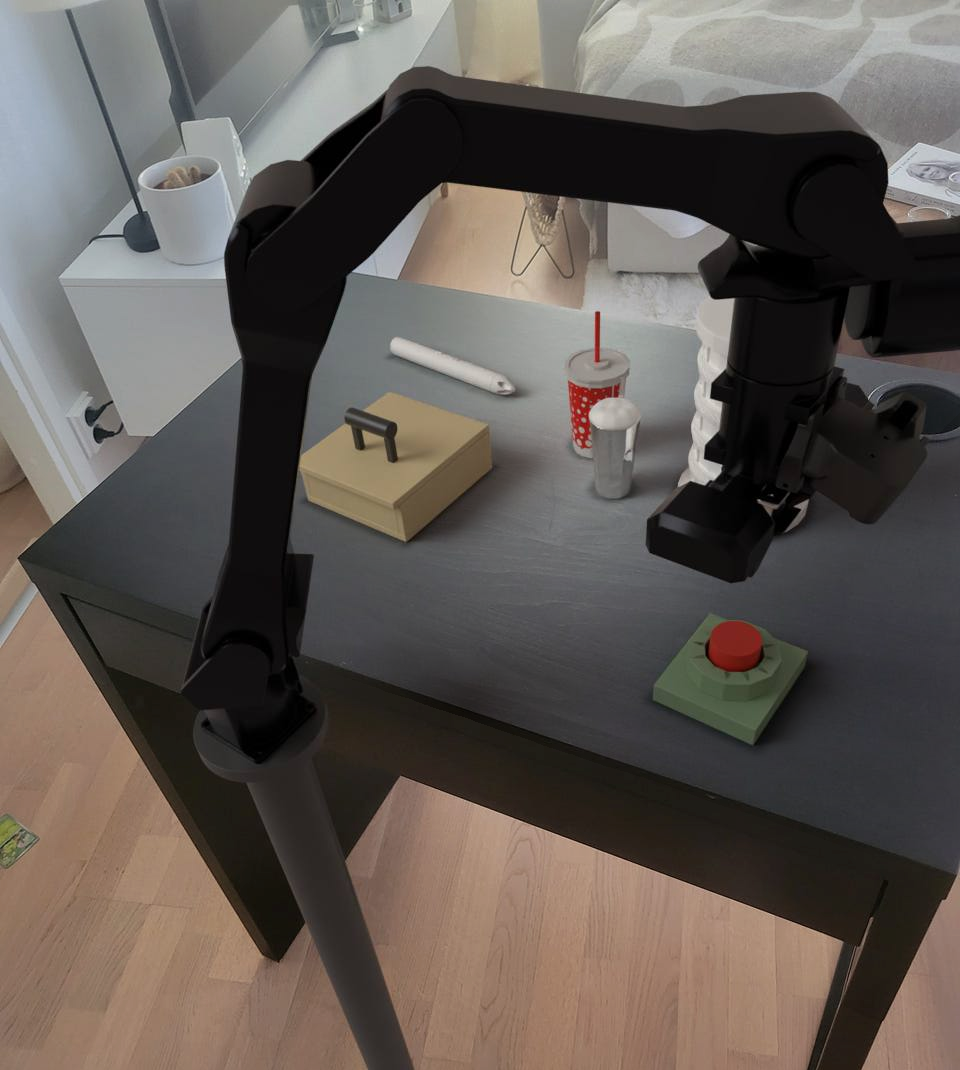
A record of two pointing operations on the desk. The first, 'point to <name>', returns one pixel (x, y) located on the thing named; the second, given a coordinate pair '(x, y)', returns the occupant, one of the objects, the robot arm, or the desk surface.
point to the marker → (452, 366)
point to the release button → (735, 646)
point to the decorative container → (711, 363)
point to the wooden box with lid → (391, 448)
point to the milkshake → (614, 443)
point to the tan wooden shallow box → (415, 507)
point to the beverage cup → (592, 385)
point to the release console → (729, 684)
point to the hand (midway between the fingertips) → (746, 572)
